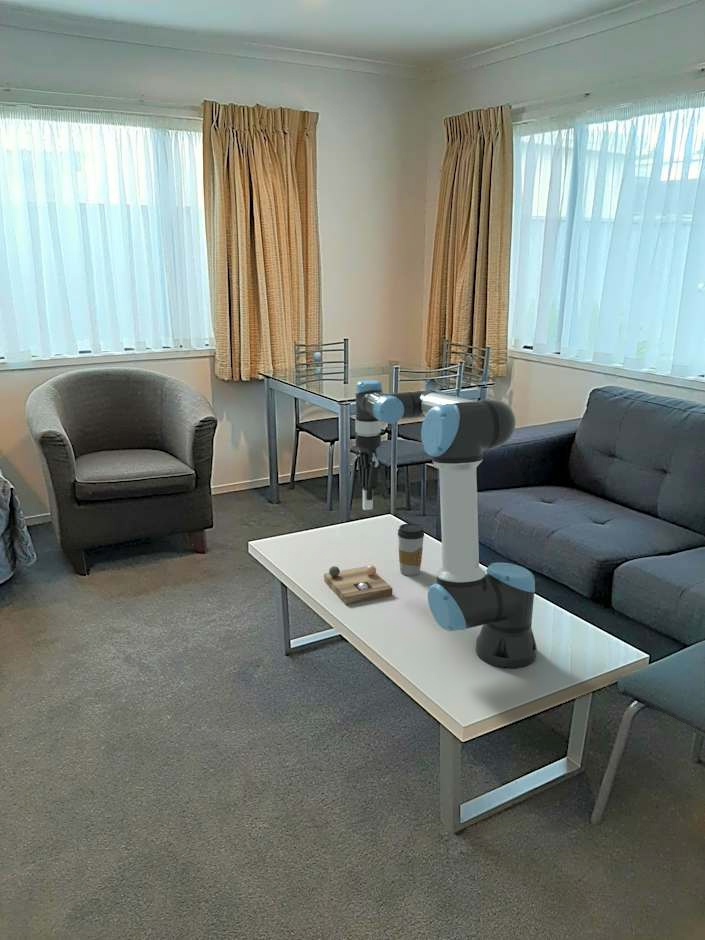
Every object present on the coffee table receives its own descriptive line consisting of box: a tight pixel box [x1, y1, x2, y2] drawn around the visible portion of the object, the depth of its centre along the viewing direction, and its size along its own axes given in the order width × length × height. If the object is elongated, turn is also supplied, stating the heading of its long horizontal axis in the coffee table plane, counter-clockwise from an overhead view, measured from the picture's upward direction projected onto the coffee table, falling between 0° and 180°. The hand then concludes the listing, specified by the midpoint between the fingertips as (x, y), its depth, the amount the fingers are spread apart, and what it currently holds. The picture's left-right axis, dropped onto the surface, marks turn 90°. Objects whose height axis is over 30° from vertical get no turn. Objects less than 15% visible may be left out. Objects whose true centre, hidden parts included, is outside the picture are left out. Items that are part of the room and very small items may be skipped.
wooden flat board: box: [323, 565, 393, 605], centre depth 224 cm, size 17×15×2 cm
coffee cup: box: [397, 522, 425, 577], centre depth 234 cm, size 8×8×15 cm
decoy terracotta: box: [366, 564, 377, 576], centre depth 227 cm, size 3×3×3 cm
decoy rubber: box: [328, 565, 341, 577], centre depth 226 cm, size 3×3×3 cm
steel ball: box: [357, 583, 369, 590], centre depth 221 cm, size 3×3×3 cm
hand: (367, 508), depth 226 cm, fingers closed
